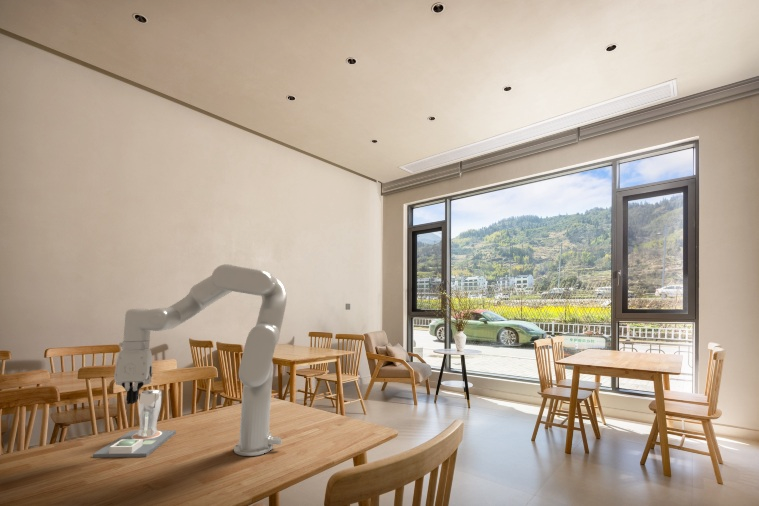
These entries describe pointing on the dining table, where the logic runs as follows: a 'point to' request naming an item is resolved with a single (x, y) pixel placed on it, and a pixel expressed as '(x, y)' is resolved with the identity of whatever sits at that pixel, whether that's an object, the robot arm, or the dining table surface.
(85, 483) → the dining table surface
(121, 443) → the button
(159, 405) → the beer glass
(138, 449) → the picture board
